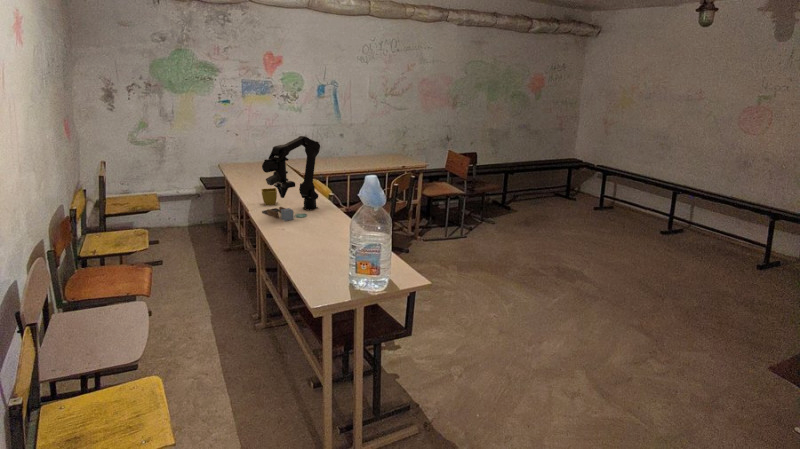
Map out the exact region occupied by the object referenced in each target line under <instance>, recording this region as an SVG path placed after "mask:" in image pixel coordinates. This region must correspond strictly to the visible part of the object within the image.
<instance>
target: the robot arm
mask: <svg viewBox="0 0 800 449" xmlns="http://www.w3.org/2000/svg"><path fill="white" fill-rule="evenodd" d="M301 146H302V147H303V148H304V152H305V154H306V160H305V162H306V163H305V171H304V178H303V182H302V183H299V190H298V191H299V195H300V196H301V198H302V199H303V207H302V209H304V210H307V211H311V210H317V209H319V208H318V206H317V200H318V198H319V194H318V193H317V192H316V191H315V190H316V189H315V188H316V187H315V185H314V182H313V181H314V174H315V167H316V166H315V165H316V157H317V156H318V155H319V153H320V151H321V144H320V142H319V141H316V140H313V139H312V138H309V137H308V136H306V135H299V136H298V137H296V138H295V139H293V140H290V141H289V142H287V143H285V144H284V143H283V144H278V145H275V146H273V147H272V150H271V152H270V154H269V156H268V157H267V159H266V158H265V159H264V160H263V163H262V165H261V168H262V171H263V172H264V173H267V174H268V173H272V172H273V173H272V175H269V176H268V177H266V178H265V181H266V183H267V186H268V185H269V186H271V187H272V186H273V187H274V188H276V190H278V191H277V192H278V194H279V196H280V198H282V199H285V197H286V195H287V192H288V190H289V189H290V188H295V187H296V182H295V181H292V180H289V178H287V174H289V172H288V171H287V164H286V162H287V161H289V158H288V157H287V156H288V155H290V153H291V151H293V150H295V149H298V148H299V147H301Z"/></svg>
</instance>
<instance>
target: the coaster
mask: <svg viewBox="0 0 800 449" xmlns="http://www.w3.org/2000/svg"><path fill="white" fill-rule="evenodd" d="M306 217H308V214H307V213H303V212H302V213H296V214H295V215H294V218H299V219H300V218H301V219H302V218H306Z"/></svg>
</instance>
